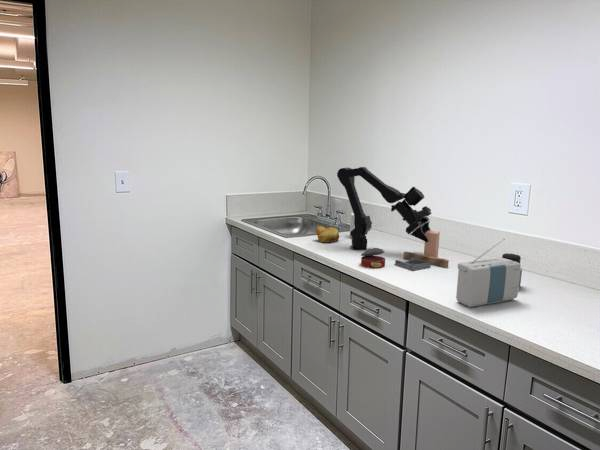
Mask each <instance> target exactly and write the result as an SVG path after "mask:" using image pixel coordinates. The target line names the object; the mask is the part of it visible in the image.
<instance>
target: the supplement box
mask: <svg viewBox="0 0 600 450" xmlns="http://www.w3.org/2000/svg"><path fill="white" fill-rule="evenodd" d="M354 218H355V217H354V213H353V212H350V220H349V221H350V222H349V223H350V224H349V229H350V230H349V238H350V239H351V240H352V237H351V234H350V232H351V231H352V230H353V229H354V228H355V224H354Z"/></svg>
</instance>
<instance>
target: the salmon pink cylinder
mask: <svg viewBox="0 0 600 450" xmlns="http://www.w3.org/2000/svg"><path fill="white" fill-rule="evenodd" d="M440 235H441V231H436V230H431V231H429V230H428V231H427V232H425V236H426V237H427V239H428V240H429V241H428V242H425V241H424V247H423V248H424V249H423V255H426V256H431V257H436V258H439V248H440V247H439V246H440Z"/></svg>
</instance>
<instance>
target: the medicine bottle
mask: <svg viewBox="0 0 600 450" xmlns="http://www.w3.org/2000/svg"><path fill="white" fill-rule="evenodd" d="M501 258H505V259H509V260H512V261H515V262H518V263H520V264H521V258H522V257H521V256H520V255H519V254H518V253H512V252H511V253H510V252H506V253H503V254H502V255H501ZM522 274H523V267H522V266H521V270H520V281H519V288H520V287H521V284H522V283H521V282H522Z"/></svg>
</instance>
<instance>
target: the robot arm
mask: <svg viewBox="0 0 600 450" xmlns="http://www.w3.org/2000/svg"><path fill="white" fill-rule="evenodd" d="M336 176H337V179H338V180H339V182H340V184H341V185H342V187H344V189H345V191H346V195H347V198H348V201H349V204H350V207H351V210H352V213H354V217H355V218H354V224H355V228H354V229H353V230H352V231H351V232H350V231H349V235H350V234H351V237H352V239H351V245H350V246H349V247H350V248H351V249H352V250H354V251H356V250H358V251H359V250H363V251H364V250H365V251H366V250H368V248H367V247H368V239H367V235H368V233H369V232H370V231H371V230H372V224H373V222H372V220H371V216H370V215H366V214H365V212H364V209H363V206H362V203H361V200H360V197H359V194H358V191H357V189H356V186H355V178H356V177H361V178H362V179H363V180H364V181H366V182H367V183H368V184H369V185H370V186H372V187H373V188H375V190H377V191H378V192H379V193H380V195H381V197H382V198H383V199H384V200H385V202H387V203H389V204H391V205H390V207H391V210H390V211H391V212H394V211H397V213H398V214H399V215H400V216H401V217H402V220H403V222H404V221H405V222H406V223H407V225H408V226H407V227H406V228H405V232H406V233H407V235H410V236H412V237H415V238H416V239H419V240H421V241H422V242H424V243H425V242H428V241H429V240H428V239H427V237H426V236H425V232H427V231H428V230H429V231H432V230H431V228H430V220H431V219H430V218H429V216H430V215H432V209H431V208H430V207H428V206H427V205H426V206H422V208H421V210H416V209H413V208H412V206H414V207H415V206H416V205H418V204H419V203H420V202H421V201H422V200H424V199H425V195H424V194H423V192H422V191H421V190H419V189H418V188H416V187H415V186H412V187H411V188H410V189H409V190H408V191H407V192H406V193H404V192H400V191H399V190H398V189H396V188H394V187H393V186H390V185H388V184H387V183H385V182H384V181H382V180H381V179H380V178H379V177H377V176H376V175H375V174H374V173H372V172H371V171H370V170H369V169H368V168H367V167H366V166H360V167H356V168H352V167H341V168H340V169H338V171H337V173H336ZM401 200H402V201H401ZM394 203H395V204H394ZM351 237H350V238H351Z"/></svg>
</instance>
